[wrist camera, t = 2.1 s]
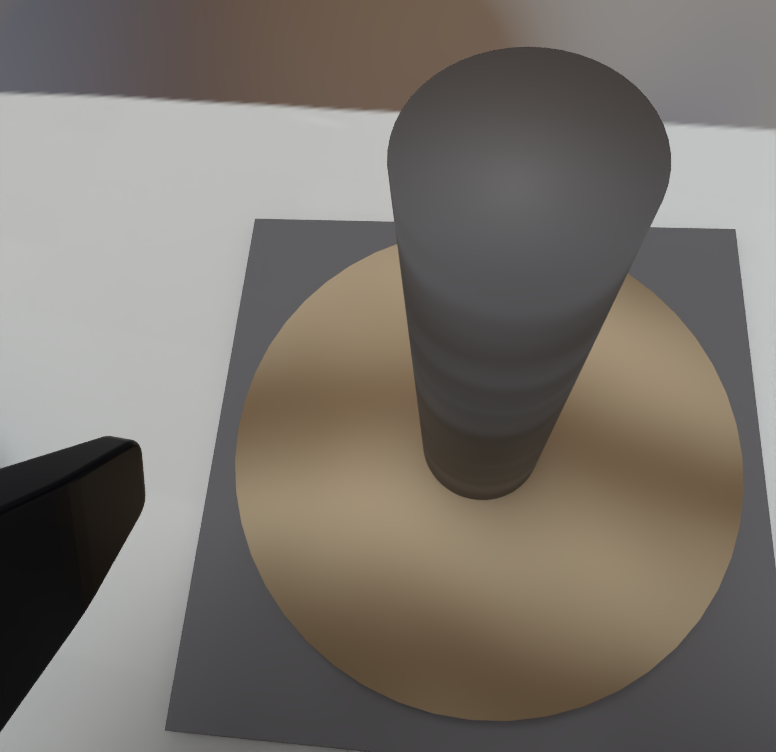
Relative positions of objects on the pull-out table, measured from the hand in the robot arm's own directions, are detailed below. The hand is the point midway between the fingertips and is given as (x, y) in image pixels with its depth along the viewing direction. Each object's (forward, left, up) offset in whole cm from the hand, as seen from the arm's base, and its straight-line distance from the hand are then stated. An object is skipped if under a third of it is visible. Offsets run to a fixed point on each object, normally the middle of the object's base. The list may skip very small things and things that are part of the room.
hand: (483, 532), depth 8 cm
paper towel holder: (+4, 0, -10) cm, 11 cm away
